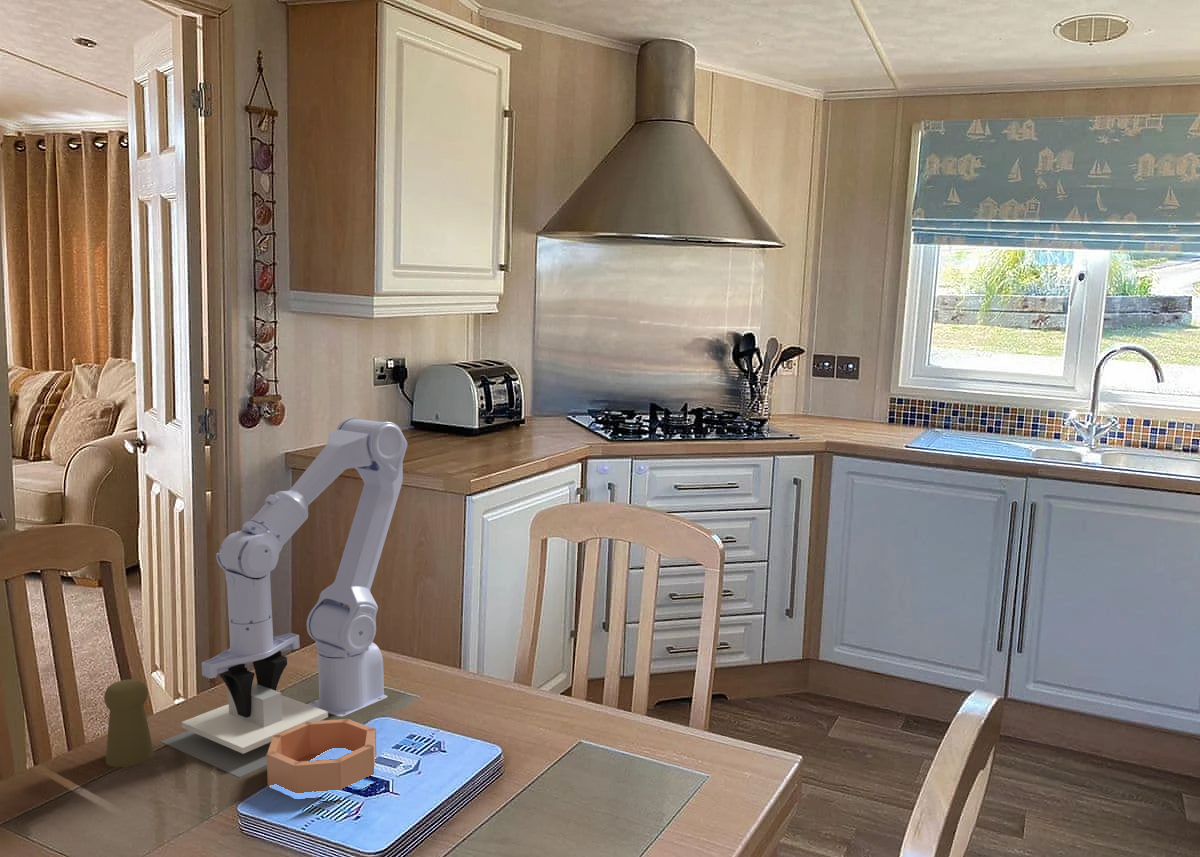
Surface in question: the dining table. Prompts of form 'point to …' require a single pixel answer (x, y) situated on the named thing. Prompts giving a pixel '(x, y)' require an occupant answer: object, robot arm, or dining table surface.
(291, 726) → the lid
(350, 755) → the octagonal ring
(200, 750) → the mat
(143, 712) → the cork
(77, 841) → the dining table surface
